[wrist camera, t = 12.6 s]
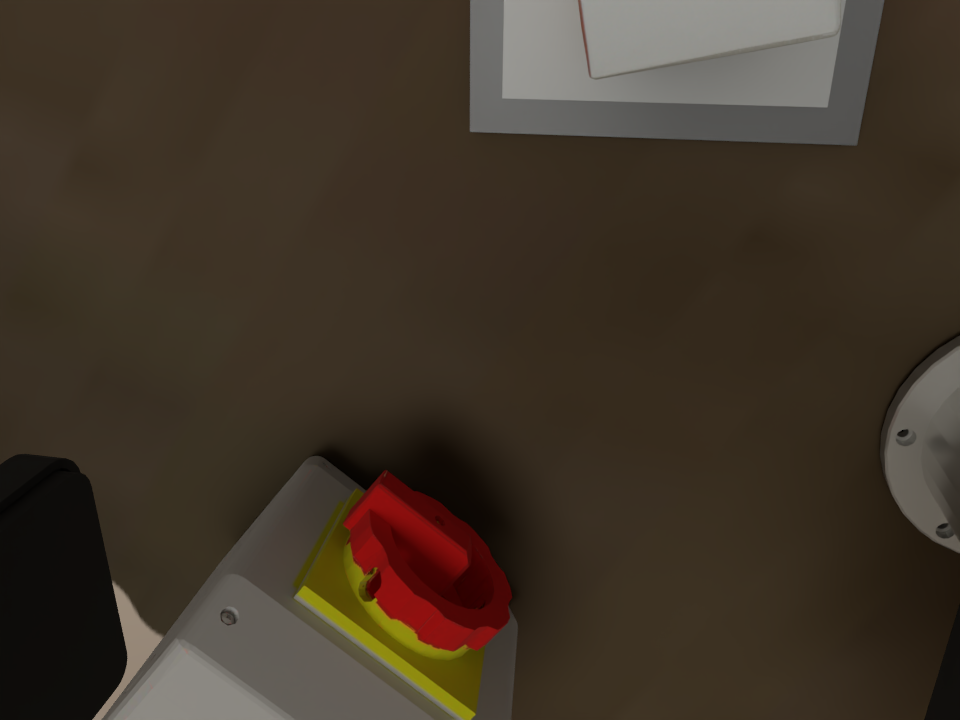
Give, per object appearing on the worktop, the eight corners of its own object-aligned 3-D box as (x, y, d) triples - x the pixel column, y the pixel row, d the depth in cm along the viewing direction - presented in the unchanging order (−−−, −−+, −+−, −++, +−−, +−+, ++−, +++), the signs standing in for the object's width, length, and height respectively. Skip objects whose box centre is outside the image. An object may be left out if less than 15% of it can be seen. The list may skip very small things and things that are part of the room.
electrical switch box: (578, 529, 47) (592, 810, 28) (419, 686, 51) (337, 1024, 32) (380, 369, 45) (252, 553, 26) (232, 544, 49) (29, 814, 30)
